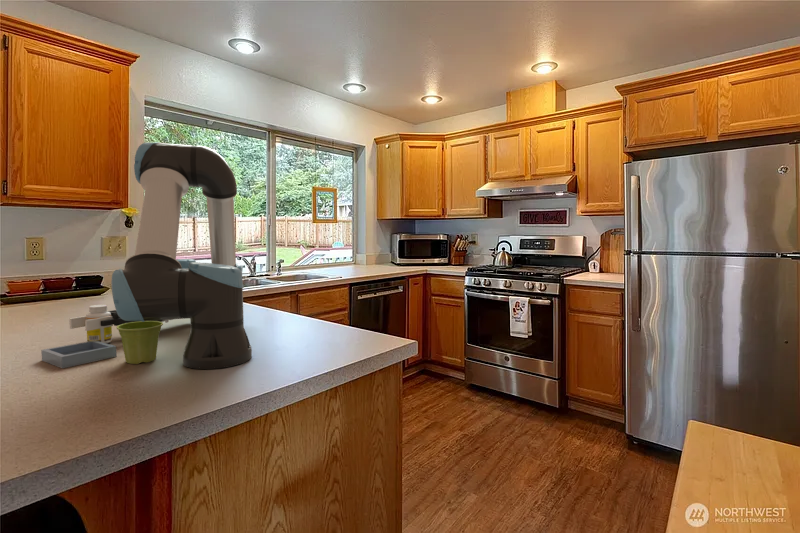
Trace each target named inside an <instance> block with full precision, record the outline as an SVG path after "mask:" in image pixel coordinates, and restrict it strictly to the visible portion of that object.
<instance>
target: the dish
mask: <svg viewBox="0 0 800 533" xmlns="http://www.w3.org/2000/svg"><path fill="white" fill-rule="evenodd" d="M116 357H117V346H116V345H114V344H109V343H103V342H99V341H96V340H93V341H83V342H78V343H77V342H76V343H72V344H67V345H61V346H56V347H50V348H44V349H41V361H42V362H45V363H47V364H49V365H53V366H54V367H57V368H60V369H65V368H71V367H76V366H79V365H84V364H88V363H93V362H97V361H102V360H108V359H111V358H116Z"/></svg>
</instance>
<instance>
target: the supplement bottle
mask: <svg viewBox="0 0 800 533" xmlns="http://www.w3.org/2000/svg"><path fill="white" fill-rule="evenodd" d="M88 308H89V310H88V313H87V314H86V315H85V316H86V320H90V319H96V318H102V317H108V316H111V313H110V312H107V311H108V305H106V304H95V305H89V306H88ZM112 328H113V326H110V327H105V328H100V329H95V330H89V331H86V340H87V341H93V340H96V341H99V342H103V343H106V344H109V343H111V342H112V341H113V330H112ZM87 341H86V342H87Z"/></svg>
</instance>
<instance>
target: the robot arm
mask: <svg viewBox="0 0 800 533" xmlns="http://www.w3.org/2000/svg"><path fill="white" fill-rule="evenodd" d="M133 168H134V169H133V170H134V176H135V179H136V181H137V183H139V184H140V185H141V187H142V188H143V190H144V195H143V200H142V201H143V202H142V208H141V215H140V221H139V225H138V226H139V227H138V233H137V239H136V245H135V250H134V251H135V252H134V254H133V255H131V256H130V257H128V258H127V259H126V261H125V263H124V268H123V269H122V268H118V269H115V270H114V271H113V272H112V275H111V294H112V295H111V296H112V300H113V305H114V308H115V309H113V310H107V312H110V313H111V316H108V317H102V318H96V319H90V320H86V315H85V316H84V315H83V316H77V317H71V318H69V319H68V321H69V329H70V330H73V329H74V330H75V329H78V328H79V329H80V328H83V327H84V329H85V330H84V331H86V332H87V331H89V330H95V329H100V328H105V327H110V326H112V327H117V326H118V325H121V324H125V323H131V322H139V321H142V322H144V321H159V322H162V323H163V322H165V323H167V324H168V323H169V321H173V320H181V319H182V320H184V319H189V321H190V331H189V335H188V338H187V341H186V344H185V348H184V351H183V353H182V362H183V363H182V365H183V366H184V367H187V368H190V369H196V370H214V369H224V368H228V367H234V366H237V365H241V364H244V363H246V362H248V361H250V360H252V357H253V356H252V354H253V350H252V346H251V343H250V340H249V338H248V335H247V332H246V330H245V325H244V324H245V322H244V321H245V320H244V292H243V291H244V290H243V289H244V288H245V287H244V283H243V266H242V264H240V263H239V264H238V263H237V262H236V261H237V257H236V231H235V229H236V228H235V226H236V225H235V205H234V198H235V197H236V196H237V194H238V193H237V192H238V190H237V189H238V188H237V181H236V176H235V175H234V172H233V170H232V168H231V167H230V165H229V163H228V162H227V161H226V160H225V159H224V158H223V156H221V154H220V153H218V152H217V151H215V150H213V149H211V147H207V146H203V145H191V144H181V143H180V144H178V143H166V142H159V141H155V142H142V143H141V144H139V146H138V147H137V148H136V152H135V155H134V165H133ZM189 188H201V191H202V192H201V193H202V195H203V196H204V197H205V198H206V207H207V208H206V209H207V219H208V232H209V245H210V257H211V258H210V259H211V262H200V261H199V262H196V259H193V258H192V259H191V258H188V259H187V258H185V259H184V258H180V259H178V258H177V249H178V240H179V231H180V230H179V229H180V227H179V226H180V218H181V210H182V209H181V207H182V198H183V197H184V196H186V195H187V193H188V192H189ZM176 258H177V259H176Z"/></svg>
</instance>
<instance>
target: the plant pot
mask: <svg viewBox="0 0 800 533" xmlns="http://www.w3.org/2000/svg"><path fill="white" fill-rule="evenodd" d="M162 326H164V323H163V322H159V321H144V322H142V321H139V322H131V323H125V324H121V325H118V326H116V330H118V333H119V335H120V337H121V342H122V349H123V355H124V358H125V362H126V363H127V364H131V365H132V364H133V365H138V364H140V363H150V362H153V361H154V360H156V359H157V353H158V352H157V351H158V344H159V337H160V332H161V329H162Z"/></svg>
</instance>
